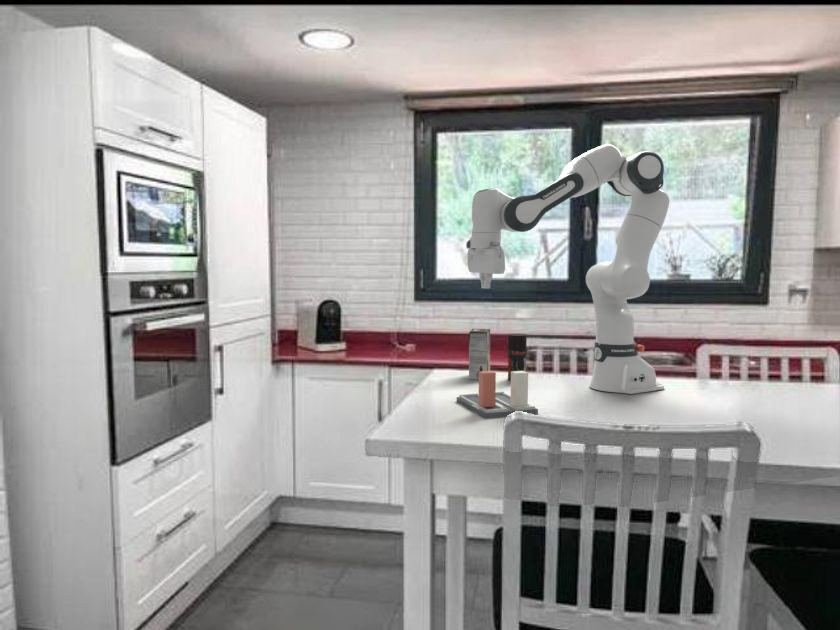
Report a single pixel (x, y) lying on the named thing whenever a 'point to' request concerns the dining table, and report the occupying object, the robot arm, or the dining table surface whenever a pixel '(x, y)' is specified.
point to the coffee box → (479, 352)
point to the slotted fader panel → (499, 410)
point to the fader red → (487, 388)
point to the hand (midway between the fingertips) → (485, 288)
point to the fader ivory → (519, 388)
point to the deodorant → (516, 353)
